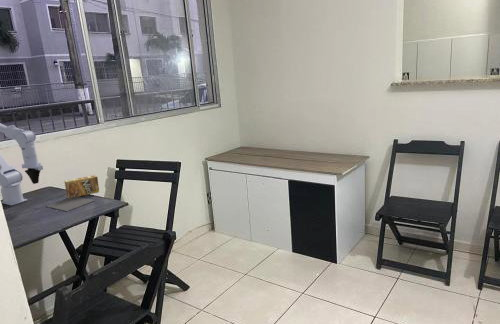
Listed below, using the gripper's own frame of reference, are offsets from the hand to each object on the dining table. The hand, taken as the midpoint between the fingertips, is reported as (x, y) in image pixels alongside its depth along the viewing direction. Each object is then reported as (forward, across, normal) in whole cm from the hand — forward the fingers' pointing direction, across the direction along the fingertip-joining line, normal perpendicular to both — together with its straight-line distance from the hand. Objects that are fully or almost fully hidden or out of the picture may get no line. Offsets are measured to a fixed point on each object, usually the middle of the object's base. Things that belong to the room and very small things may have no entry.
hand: (35, 183), depth 178 cm
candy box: (+6, -7, -10) cm, 14 cm away
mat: (+11, -16, -6) cm, 20 cm away
